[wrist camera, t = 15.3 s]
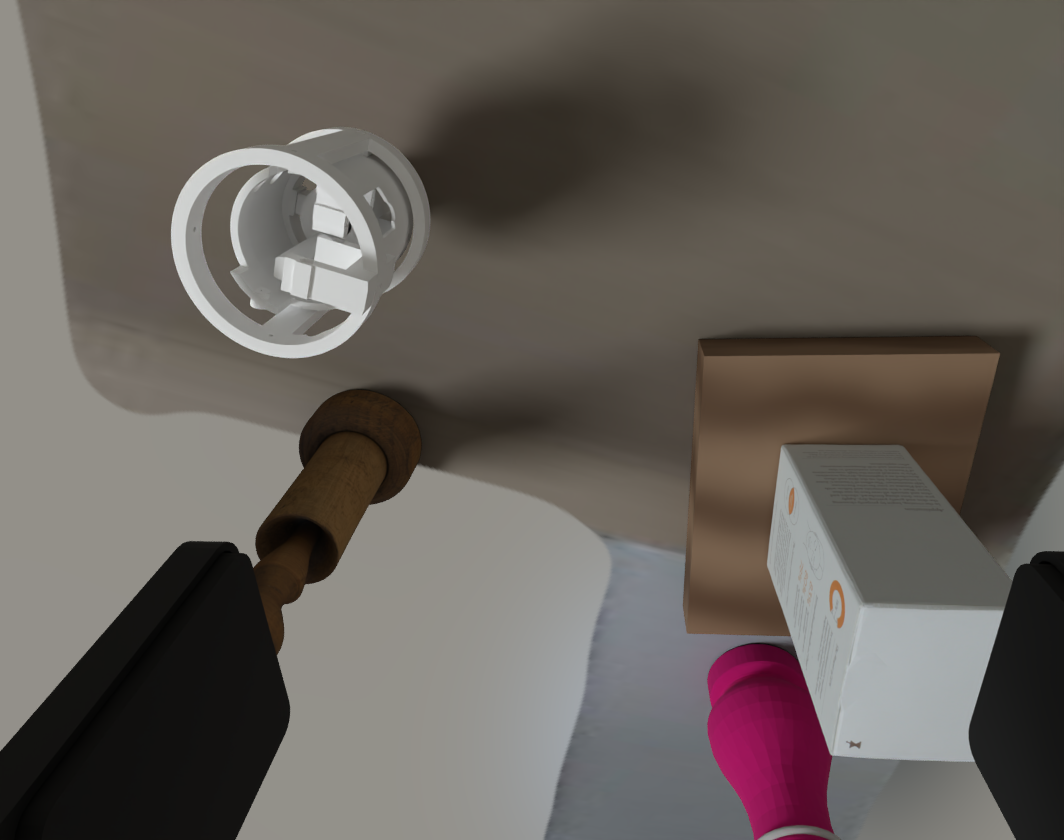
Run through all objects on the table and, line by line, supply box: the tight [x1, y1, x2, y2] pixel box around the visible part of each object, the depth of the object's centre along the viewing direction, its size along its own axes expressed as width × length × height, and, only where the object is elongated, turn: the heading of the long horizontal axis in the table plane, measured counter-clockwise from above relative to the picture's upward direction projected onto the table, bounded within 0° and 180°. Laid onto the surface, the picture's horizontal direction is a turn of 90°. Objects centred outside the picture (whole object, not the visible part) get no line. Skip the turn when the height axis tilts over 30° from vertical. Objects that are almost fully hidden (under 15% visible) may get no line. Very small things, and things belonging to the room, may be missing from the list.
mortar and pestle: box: [253, 390, 421, 655], centre depth 35 cm, size 7×6×18 cm
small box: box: [767, 444, 1012, 762], centre depth 34 cm, size 8×6×13 cm
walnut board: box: [683, 336, 1000, 636], centre depth 41 cm, size 18×14×2 cm
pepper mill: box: [707, 644, 841, 840], centre depth 40 cm, size 7×7×20 cm
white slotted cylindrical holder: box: [171, 127, 431, 358], centre depth 30 cm, size 7×7×15 cm
